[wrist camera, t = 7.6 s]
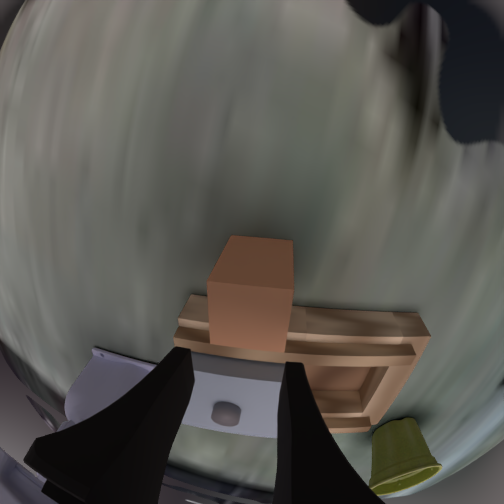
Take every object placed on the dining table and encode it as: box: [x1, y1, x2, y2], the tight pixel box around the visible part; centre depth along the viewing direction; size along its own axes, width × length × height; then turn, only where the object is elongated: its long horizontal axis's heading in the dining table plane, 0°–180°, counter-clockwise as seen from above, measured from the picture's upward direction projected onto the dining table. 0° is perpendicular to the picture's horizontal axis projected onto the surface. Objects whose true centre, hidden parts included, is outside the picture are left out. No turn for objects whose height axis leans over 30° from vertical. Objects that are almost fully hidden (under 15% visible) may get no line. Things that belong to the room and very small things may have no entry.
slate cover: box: [182, 351, 285, 438], centre depth 18 cm, size 8×8×4 cm
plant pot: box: [369, 417, 442, 496], centre depth 22 cm, size 9×9×9 cm
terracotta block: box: [207, 235, 294, 353], centre depth 16 cm, size 4×4×6 cm
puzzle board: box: [173, 294, 431, 433], centre depth 20 cm, size 18×12×4 cm, turn 87°
